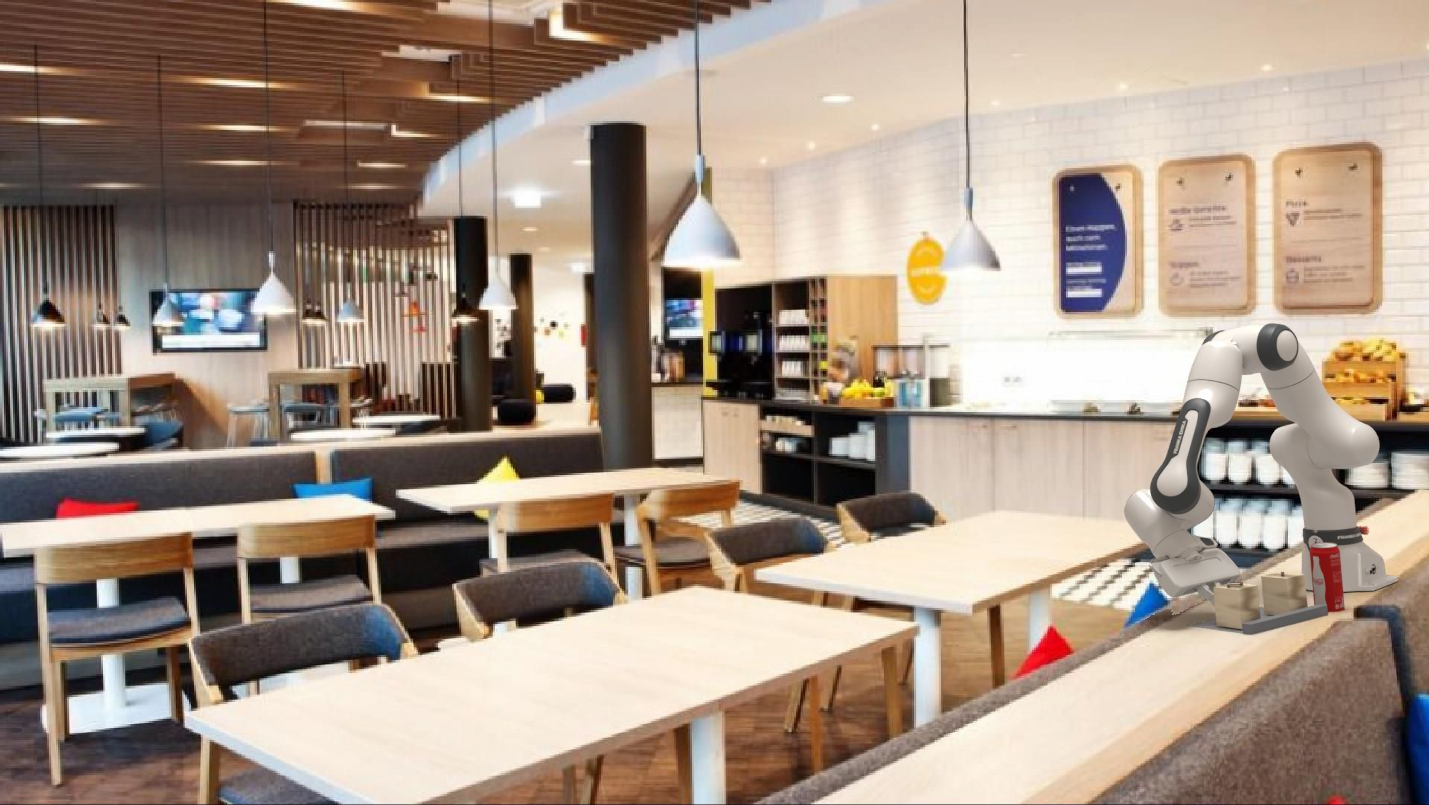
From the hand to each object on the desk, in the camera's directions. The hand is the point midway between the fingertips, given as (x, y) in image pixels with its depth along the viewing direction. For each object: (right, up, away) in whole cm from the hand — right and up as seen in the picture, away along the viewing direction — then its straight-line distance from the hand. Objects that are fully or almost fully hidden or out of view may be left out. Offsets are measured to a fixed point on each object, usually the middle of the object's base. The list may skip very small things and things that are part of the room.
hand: (1222, 603), depth 252 cm
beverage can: (+25, -3, +5) cm, 26 cm away
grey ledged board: (+8, -5, +1) cm, 9 cm away
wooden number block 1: (+15, -3, +4) cm, 16 cm away
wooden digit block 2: (+2, -4, -3) cm, 6 cm away
